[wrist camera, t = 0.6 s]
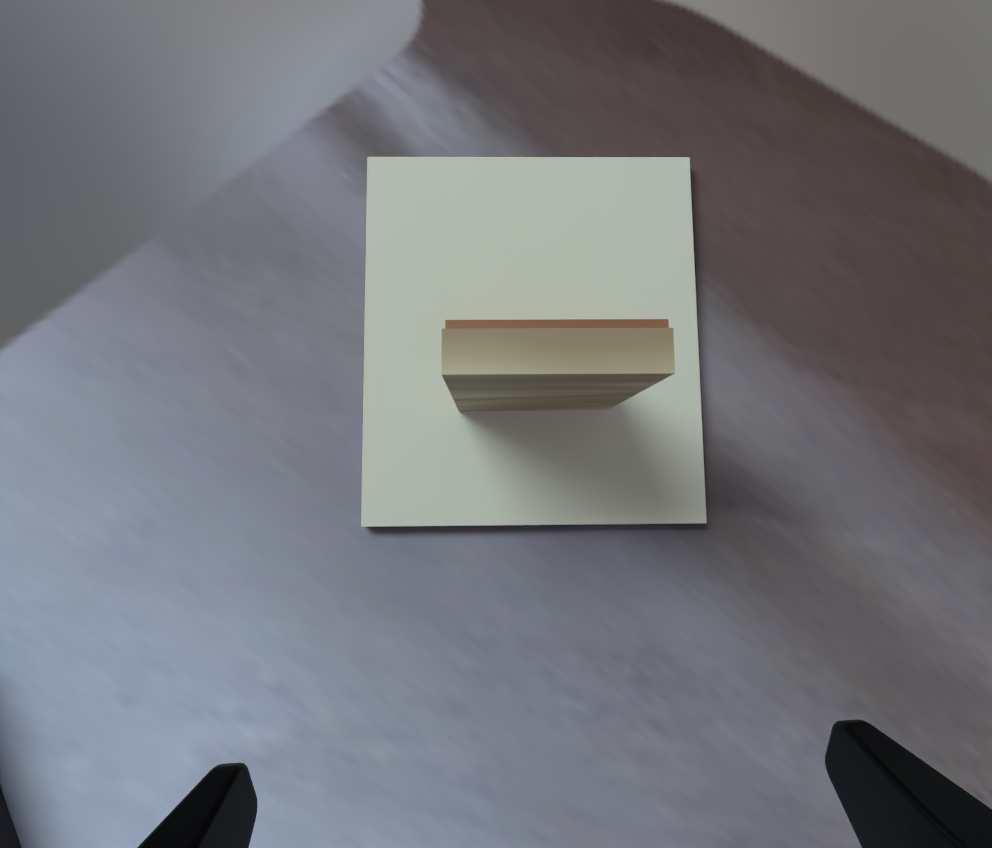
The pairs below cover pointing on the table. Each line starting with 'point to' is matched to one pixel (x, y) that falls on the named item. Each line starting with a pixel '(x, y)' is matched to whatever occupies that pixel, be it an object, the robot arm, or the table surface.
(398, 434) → the mat
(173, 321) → the table surface
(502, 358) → the tile
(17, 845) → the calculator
